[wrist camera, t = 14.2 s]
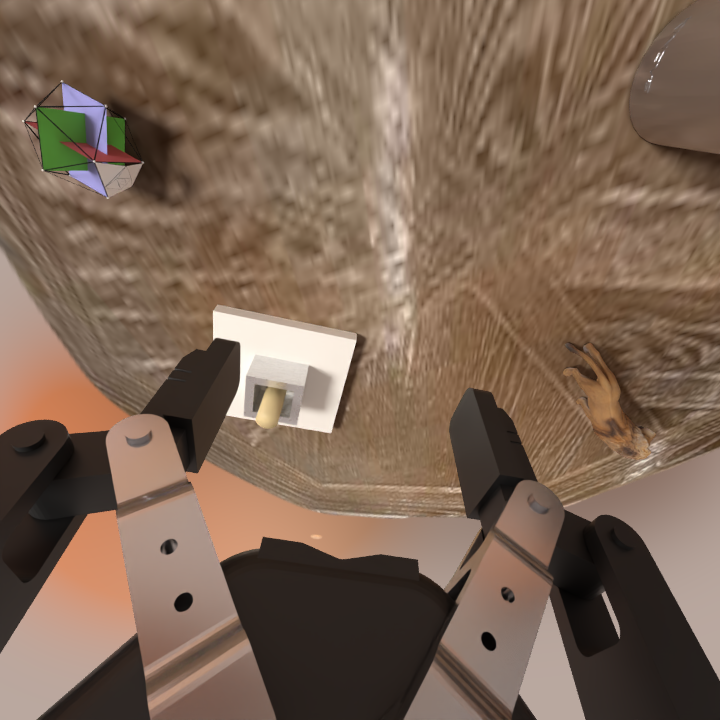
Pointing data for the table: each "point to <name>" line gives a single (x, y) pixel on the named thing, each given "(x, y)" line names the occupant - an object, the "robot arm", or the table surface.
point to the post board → (292, 343)
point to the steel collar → (275, 385)
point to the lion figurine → (609, 408)
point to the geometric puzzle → (85, 143)
